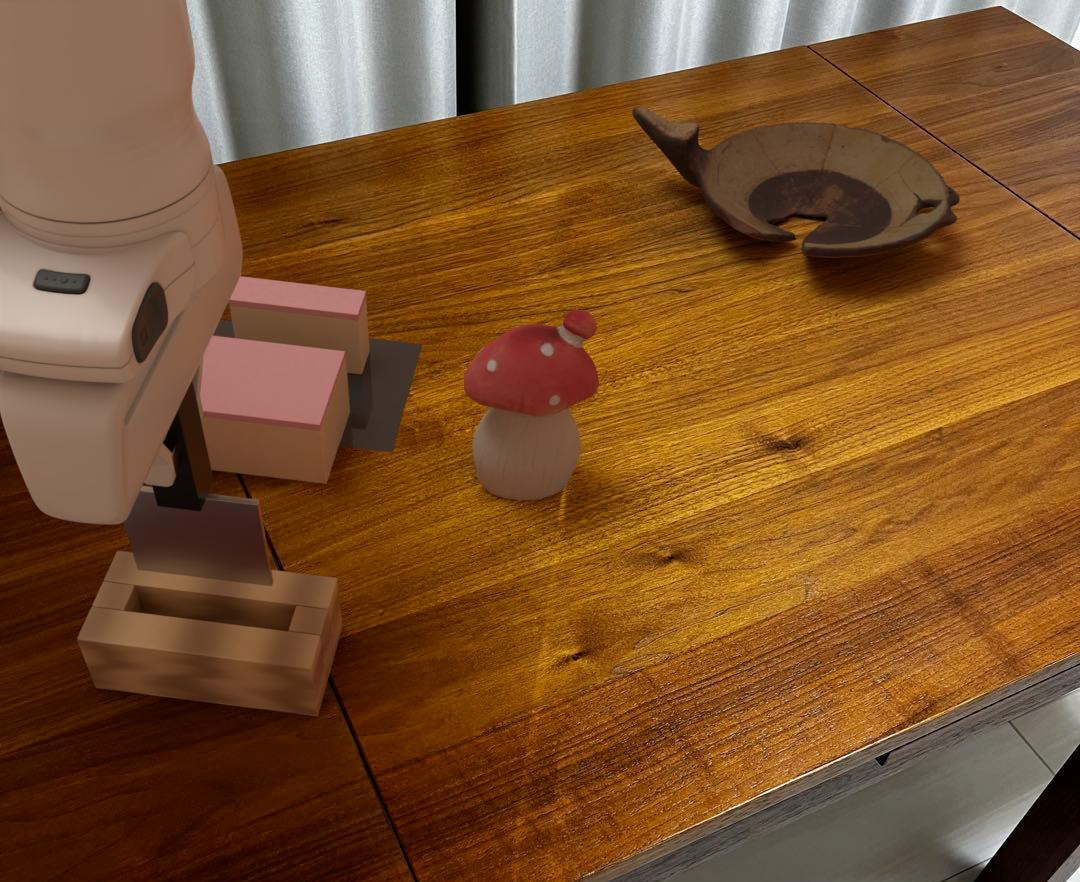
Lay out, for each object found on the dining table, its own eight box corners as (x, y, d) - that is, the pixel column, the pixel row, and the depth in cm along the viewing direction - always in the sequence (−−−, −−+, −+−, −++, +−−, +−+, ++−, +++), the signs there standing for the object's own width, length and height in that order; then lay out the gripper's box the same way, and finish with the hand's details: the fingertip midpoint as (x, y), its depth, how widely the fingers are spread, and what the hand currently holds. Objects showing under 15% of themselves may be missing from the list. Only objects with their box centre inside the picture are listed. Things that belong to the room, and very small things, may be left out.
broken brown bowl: (869, 332, 103) (894, 258, 98) (595, 196, 115) (603, 123, 109) (980, 225, 116) (1008, 154, 110) (722, 112, 127) (735, 42, 121)
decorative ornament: (587, 453, 91) (607, 294, 80) (585, 516, 87) (606, 357, 76) (466, 444, 91) (469, 283, 80) (458, 506, 87) (460, 346, 76)
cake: (191, 468, 87) (177, 407, 82) (222, 396, 92) (211, 335, 88) (326, 485, 87) (320, 424, 82) (350, 411, 92) (345, 350, 87)
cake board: (134, 479, 87) (132, 471, 86) (207, 325, 99) (206, 318, 98) (378, 509, 86) (378, 501, 86) (422, 351, 98) (422, 343, 98)
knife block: (98, 696, 75) (75, 639, 70) (135, 609, 79) (117, 550, 75) (319, 724, 74) (310, 669, 70) (343, 635, 79) (337, 577, 74)
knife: (132, 583, 69) (70, 387, 58) (145, 552, 71) (88, 356, 60) (267, 599, 69) (232, 406, 58) (278, 568, 71) (245, 374, 59)
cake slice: (238, 360, 95) (227, 299, 91) (248, 336, 97) (238, 275, 93) (362, 375, 95) (357, 314, 90) (369, 351, 97) (366, 290, 92)
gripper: (128, 97, 59) (176, 320, 69) (-55, 363, 45) (39, 591, 56) (253, 111, 59) (283, 333, 69) (108, 382, 45) (171, 608, 56)
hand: (173, 451), depth 62 cm, fingers closed on knife, 2 cm apart
